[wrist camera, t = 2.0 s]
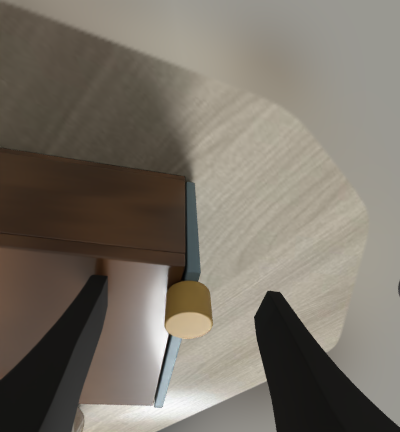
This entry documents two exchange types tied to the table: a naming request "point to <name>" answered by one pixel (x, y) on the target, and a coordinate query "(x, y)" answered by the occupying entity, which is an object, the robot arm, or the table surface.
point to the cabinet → (90, 263)
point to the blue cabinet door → (185, 300)
